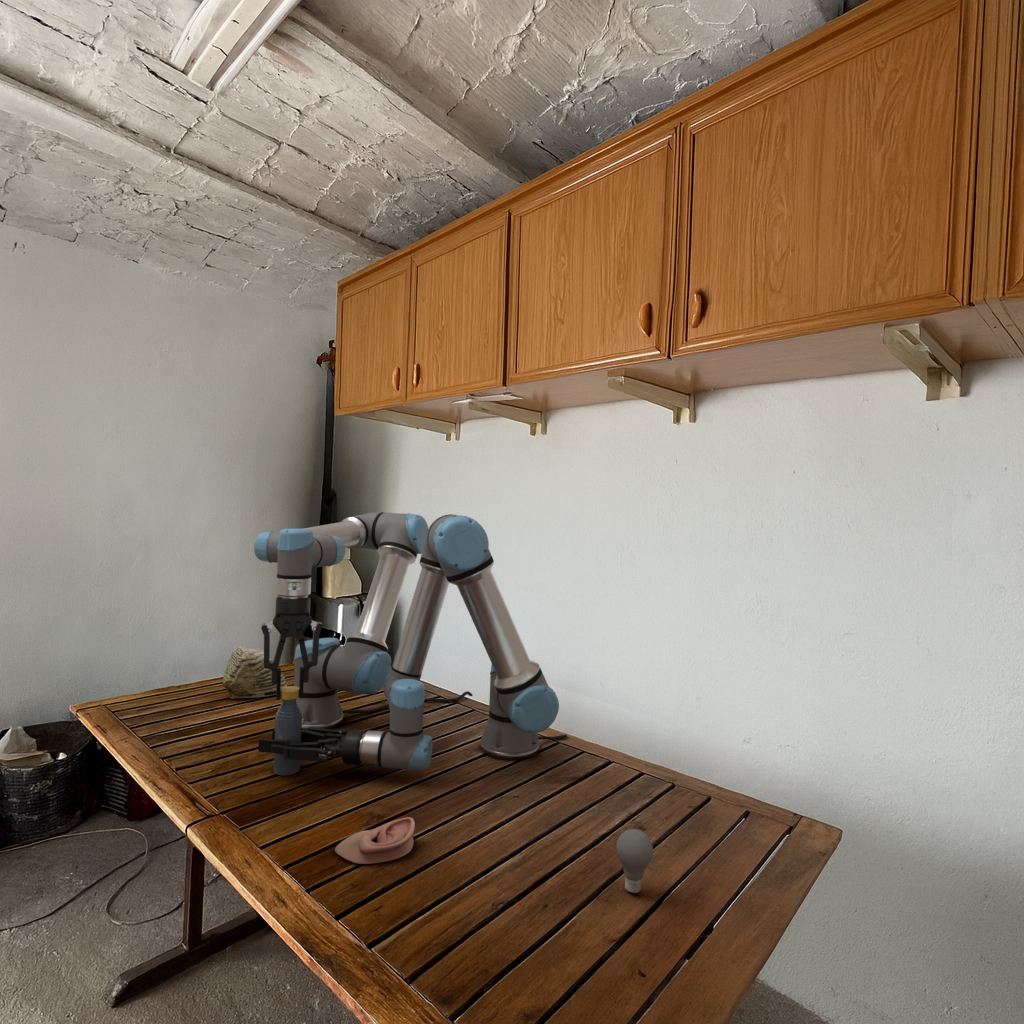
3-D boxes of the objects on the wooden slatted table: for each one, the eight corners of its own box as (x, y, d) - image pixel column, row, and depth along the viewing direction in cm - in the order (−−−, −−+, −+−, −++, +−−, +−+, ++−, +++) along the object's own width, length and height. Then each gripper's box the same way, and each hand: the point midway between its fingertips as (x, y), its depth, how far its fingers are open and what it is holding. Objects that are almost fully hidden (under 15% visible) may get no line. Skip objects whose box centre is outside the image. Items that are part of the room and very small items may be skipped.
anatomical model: (327, 836, 111) (356, 806, 122) (326, 858, 111) (355, 826, 122) (398, 848, 108) (421, 815, 119) (397, 871, 108) (420, 836, 119)
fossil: (218, 695, 195) (220, 647, 195) (278, 685, 208) (279, 640, 207) (228, 703, 189) (230, 653, 188) (289, 692, 201) (290, 645, 201)
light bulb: (610, 879, 108) (613, 822, 108) (644, 879, 109) (647, 822, 109) (619, 902, 102) (622, 840, 102) (655, 901, 103) (658, 840, 103)
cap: (293, 700, 143) (294, 692, 143) (276, 698, 144) (276, 690, 144) (302, 694, 147) (303, 687, 147) (285, 693, 148) (285, 685, 148)
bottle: (267, 770, 145) (270, 691, 145) (289, 762, 150) (292, 685, 150) (284, 777, 142) (287, 696, 142) (305, 769, 147) (308, 690, 146)
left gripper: (252, 599, 138) (248, 705, 139) (334, 598, 145) (330, 699, 145) (252, 594, 145) (249, 695, 146) (330, 593, 152) (327, 689, 152)
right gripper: (348, 782, 135) (244, 773, 137) (375, 748, 154) (284, 740, 156) (349, 747, 135) (245, 738, 137) (377, 717, 153) (285, 710, 156)
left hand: (289, 697), depth 146 cm, fingers closed on cap, 4 cm apart
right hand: (266, 739), depth 146 cm, fingers closed on bottle, 6 cm apart
